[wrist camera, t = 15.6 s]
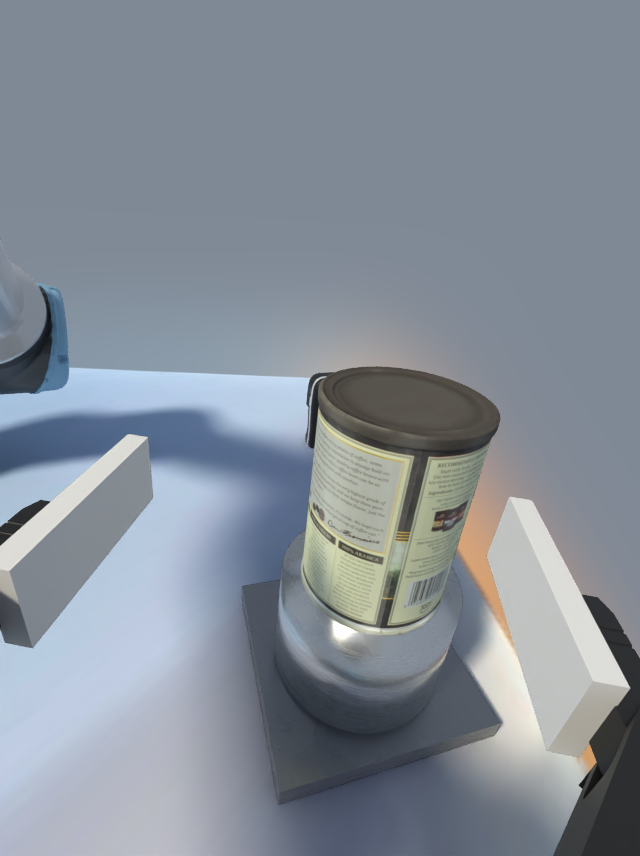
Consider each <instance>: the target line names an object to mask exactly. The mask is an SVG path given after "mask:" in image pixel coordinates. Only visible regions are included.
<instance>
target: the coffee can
mask: <svg viewBox="0 0 640 856" xmlns="http://www.w3.org/2000/svg"><path fill="white" fill-rule="evenodd" d="M318 402H319V409H318V418H317V428H316V438H315V447H314V457H313V467H312V477H311V486H310V494H309V505H308V515H307V525H306V535H305V545H304V554H303V559H302V563H301V577H302V583H303V585H304V588H305V590H306V591H307V593H308V595H309V597H310V599H311V600H312V601H313V603H314V604H315V605H316V606H317V607H318V608H319V609H320V610H321V611H322V612H323V613H324V614H326V615H327V616H328V617H330V618H331V619H333V620H334V621H336V622H337V623H339V624H341V625H343V626H346V627H348V628H351V629H353V630H356V631H359V632H363V633H366V634H371V635H380V636H391V635H401V634H404V633H407V632H410V631H413V630H416V629H418V628H420V627H421V626H423V625H425V624H426V623H427V622H428V621H429V620H431V618H432V617H433V616H434V615H435V613H436V612H437V610H438V608H439V607H440V604H441V601H442V595H443V591H444V588H445V585H446V581H447V578H448V575H449V572H450V568H451V565H452V562H453V559H454V556H455V552H456V549H457V546H458V543H459V539H460V536H461V533H462V530H463V527H464V524H465V520H466V517H467V514H468V511H469V508H470V505H471V502H472V499H473V496H474V493H475V490H476V486H477V483H478V480H479V476H480V473H481V469H482V466H483V463H484V460H485V457H486V454H487V451H488V448H489V444H490V441H491V438H492V437H493V435H494V434H495V433H496V431H497V428H498V426H499V422H500V414H499V411H498V409H497V408H496V406H495V405H494V404H493V403H492V402H491V401H490V400H488V399H487V398H486V397H485V396H483V395H481V394H480V393H478V392H477V391H475V390H473V389H471V388H469V387H467V386H465V385H463V384H460V383H458V382H455V381H453V380H450V379H447V378H444V377H440V376H437V375H434V374H429V373H426V372H421V371H414V370H409V369H402V368H391V367H359V368H350V369H345V370H340V371H337V372H335V373H332V374H330V375H328V376H326V377H325V378H324V379H323V380H322V381H321V382H320V384H319V388H318Z"/></svg>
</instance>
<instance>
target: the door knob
mask: <svg viewBox="0 0 640 856" xmlns="http://www.w3.org/2000/svg"><path fill="white" fill-rule="evenodd" d="M305 535H306V529H305V530H304V531H303V532H301V533H300V534H299V535H298V536H297V537H296V538H295V539H294V540H293V541H292V542H291V544H290V545H289V547H288V549H287V551H286V552H285V555H284V558H283V563H282V570H281V580H277V581H271V582H264V583H258V584H251V585H245V586H242V602H243V607H244V613H245V619H246V624H247V630H248V636H249V641H250V647H251V653H252V658H253V664H254V670H255V675H256V681H257V687H258V692H259V698H260V704H261V709H262V715H263V721H264V727H265V732H266V738H267V744H268V749H269V755H270V761H271V766H272V772H273V778H274V783H275V789H276V795H277V800H278V805H279V804H282V803H285V802H289V801H292V800H295V799H298V798H301V797H304V796H307V795H310V794H313V793H317V792H320V791H323V790H326V789H329V788H332V787H335V786H338V785H342V784H345V783H348V782H351V781H354V780H357V779H360V778H363V777H367V776H370V775H373V774H376V773H379V772H382V771H385V770H388V769H392V768H395V767H398V766H401V765H404V764H407V763H410V762H413V761H417V760H420V759H423V758H426V757H429V756H432V755H435V754H438V753H442V752H445V751H448V750H451V749H454V748H457V747H460V746H463V745H467V744H470V743H473V742H476V741H479V740H482V739H485V738H488V737H492V736H494V735H495V733H496V731H497V729H498V727H499V725H500V722H499V721H498V719H497V717H496V716H495V714H494V713H493V711H492V709H491V708H490V706H489V704H488V703H487V701H486V700H485V698H484V696H483V695H482V693H481V692H480V690H479V688H478V687H477V685H476V684H475V682H474V680H473V679H472V677H471V676H470V674H469V672H468V671H467V669H466V668H465V666H464V664H463V663H462V661H461V660H460V658H459V656H458V655H457V653H456V652H455V650H454V648H453V647H452V645H451V641H452V638H453V635H454V632H455V630H456V627H457V624H458V621H459V619H460V616H461V612H462V606H463V596H462V590H461V586H460V583H459V580H458V577H457V575H456V573H455V571H454V569H453V568H452V566H451V568H450V572H449V575H448V578H447V581H446V585H445V588H444V591H443V595H442V601H441V604H440V607H439V608H438V610H437V612H436V613H435V615H434V616H433V617H432V618H431V620H429V621H428V622H427V623H426V624H425V625H423V626H421V627H420V628H418V629H416V630H413V631H410V632H407V633H404V634H401V635H391V636H380V635H371V634H366V633H363V632H359V631H356V630H353V629H351V628H348V627H346V626H343V625H341V624H339V623H337V622H336V621H334V620H333V619H331V618H330V617H328V616H327V615H326V614H324V613H323V612H322V611H321V610H320V609H319V608H318V607H317V606H316V605H315V604H314V603H313V601H312V600H311V599H310V597H309V595H308V593H307V591H306V590H305V588H304V585H303V583H302V577H301V563H302V559H303V554H304V545H305Z"/></svg>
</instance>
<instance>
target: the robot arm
mask: <svg viewBox="0 0 640 856" xmlns="http://www.w3.org/2000/svg"><path fill="white" fill-rule="evenodd" d="M68 378H69V360H68V339H67V328H66V318H65V310H64V304H63V298H62V296H61V293H60V291H59V290H58V289H57V288H55V287H53V286H46V285H44V284H42V283H35V281H34V280H33V279H32V278H31V277H30V276H29V275H28V274H27V273H26V272H24V271H23V270H22V269H21V268H19V267H18V266H16V265H15V264H13V263H11V262H10V261H9V258H8V256H7V254H6V251H5V249H4V247H3V244H2V241H1V239H0V394H14V393H30V394H38V393H40V392H42V391H51V390H58V389H60V388H62V387H64V386H65V385H66V383H67V381H68ZM152 499H153V489H152V477H151V465H150V453H149V441H148V437H144V436H137V435H131V434H128V435H126V436H125V437H124V438H123V439H122V440H121V441H120V442H118V443H117V444H116V445H115V446H114V447H113V448H112V449H110V450H109V451H108V452H107V453H106V454H105V455H104V456H102V457H101V458H100V459H99V460H98V461H97V462H96V463H94V464H93V465H92V466H91V467H90V468H89V469H88V470H86V471H85V472H84V473H83V474H82V475H81V476H80V477H78V478H77V479H76V480H75V481H74V482H73V483H72V484H70V485H69V486H68V487H67V488H66V489H65V490H64V491H62V492H61V493H60V494H59V495H58V496H57V497H56V498H54V499H53V500H52V501H51V502H50V501H44V500H40V501H38V502H36V503H34V504H32V505H30V506H27V507H25V508H23V509H22V510H20V511H19V512H18V513H17V514H16V515H14V516H13V517H12V518H11V519H10V520H8V523H5V524H4V525H2V526H1V527H0V630H1V632H2V635H3V638H4V641H5V643H9V644H14V645H19V646H24V647H29V648H33V647H34V646H35V645H36V644H37V642H38V641H39V640H40V639H41V637H42V636H43V635H44V634H45V632H46V631H47V630H48V629H49V627H50V626H51V625H52V624H53V622H54V621H55V620H56V619H57V617H58V616H59V615H60V614H61V612H62V611H63V610H64V609H65V607H66V606H67V605H68V604H69V602H70V601H71V600H72V599H73V597H74V596H75V595H76V594H77V592H78V591H79V590H80V589H81V587H82V586H83V585H84V584H85V582H86V581H87V580H88V579H89V577H90V576H91V575H92V574H93V572H94V571H95V570H96V569H97V567H98V566H99V565H100V564H101V562H102V561H103V560H104V559H105V557H106V556H107V555H108V554H109V552H110V551H111V550H112V549H113V547H114V546H115V545H116V544H117V542H118V541H119V540H120V539H121V537H122V536H123V535H124V534H125V532H126V531H127V530H128V529H129V527H130V526H131V525H132V524H133V522H134V521H135V520H136V519H137V517H138V516H139V515H140V514H141V512H142V511H143V510H144V509H145V507H146V506H147V505H148V504H149V502H150V501H151V500H152ZM487 559H488V562H489V565H490V568H491V571H492V575H493V578H494V581H495V584H496V588H497V591H498V594H499V597H500V601H501V604H502V607H503V610H504V614H505V617H506V620H507V623H508V627H509V630H510V633H511V636H512V640H513V643H514V646H515V649H516V653H517V656H518V659H519V662H520V666H521V669H522V672H523V675H524V679H525V682H526V685H527V688H528V692H529V695H530V698H531V701H532V704H533V708H534V711H535V714H536V717H537V721H538V724H539V727H540V730H541V734H542V737H543V740H544V743H545V747H546V750H547V751H549V752H554V753H560V754H565V755H570V756H575V757H580V756H581V755H582V753H583V752H584V750H585V749H586V748H587V746H588V745H589V744H590V745H591V748H592V751H593V753H594V756H595V758H596V761H597V763H596V764H595V765H594V767H593V768H592V769H591V770H590V772H589V773H588V774H587V775H586V777H585V778H584V779H583V781H582V782H581V783H580V784H579V786H580V787H581V788H582V789H583V790H582V792H581V794H580V796H579V799H578V801H577V803H576V805H575V808H574V810H573V812H572V814H571V817H570V819H569V821H568V824H567V826H566V828H565V830H564V833H563V835H562V837H561V839H560V842H559V844H558V846H557V848H556V851H555V853H554V855H553V856H640V658H639V657H638V655H637V653H636V651H635V650H634V649H632V645H631V643H630V641H629V639H628V638H627V636H626V635H625V634H624V633H623V632H624V631H623V629H622V627H621V626H620V624H619V622H618V620H617V619H616V617H615V615H614V614H613V613H612V612H611V611H610V610H609V609H608V608H607V606H606V605H605V604H604V603H603V602H602V601H600V599H599V598H598V597H593V596H587V595H581V593H580V591H579V589H578V588H577V586H576V584H575V582H574V580H573V578H572V576H571V575H570V572H569V570H568V568H567V567H566V565H565V563H564V561H563V559H562V557H561V555H560V553H559V551H558V549H557V548H556V546H555V544H554V542H553V540H552V538H551V536H550V534H549V532H548V530H547V529H546V527H545V525H544V523H543V521H542V519H541V517H540V515H539V513H538V512H537V509H536V508H535V506H534V504H533V502H532V501H531V500H526V499H520V498H514V497H509V499H508V502H507V505H506V507H505V510H504V513H503V515H502V517H501V520H500V523H499V525H498V528H497V530H496V533H495V535H494V538H493V541H492V543H491V546H490V548H489V551H488V554H487Z"/></svg>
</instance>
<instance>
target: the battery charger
mask: <svg viewBox="0 0 640 856" xmlns="http://www.w3.org/2000/svg"><path fill="white" fill-rule="evenodd" d="M332 373H335V372H330V373H318V374H315V375H313V376H312V377H311V379H310V381H309V386H308V393H307V403H306V404H307V406H308V407H309V410H308V428H307V433H306V443H307V445H308V446H309V447H315V438H316V428H317V418H318V409H319V402H318V388H319V384H320V382H321V381H322V380H323V379H324V378H325V377H326V376H328V375H330V374H332Z"/></svg>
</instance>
